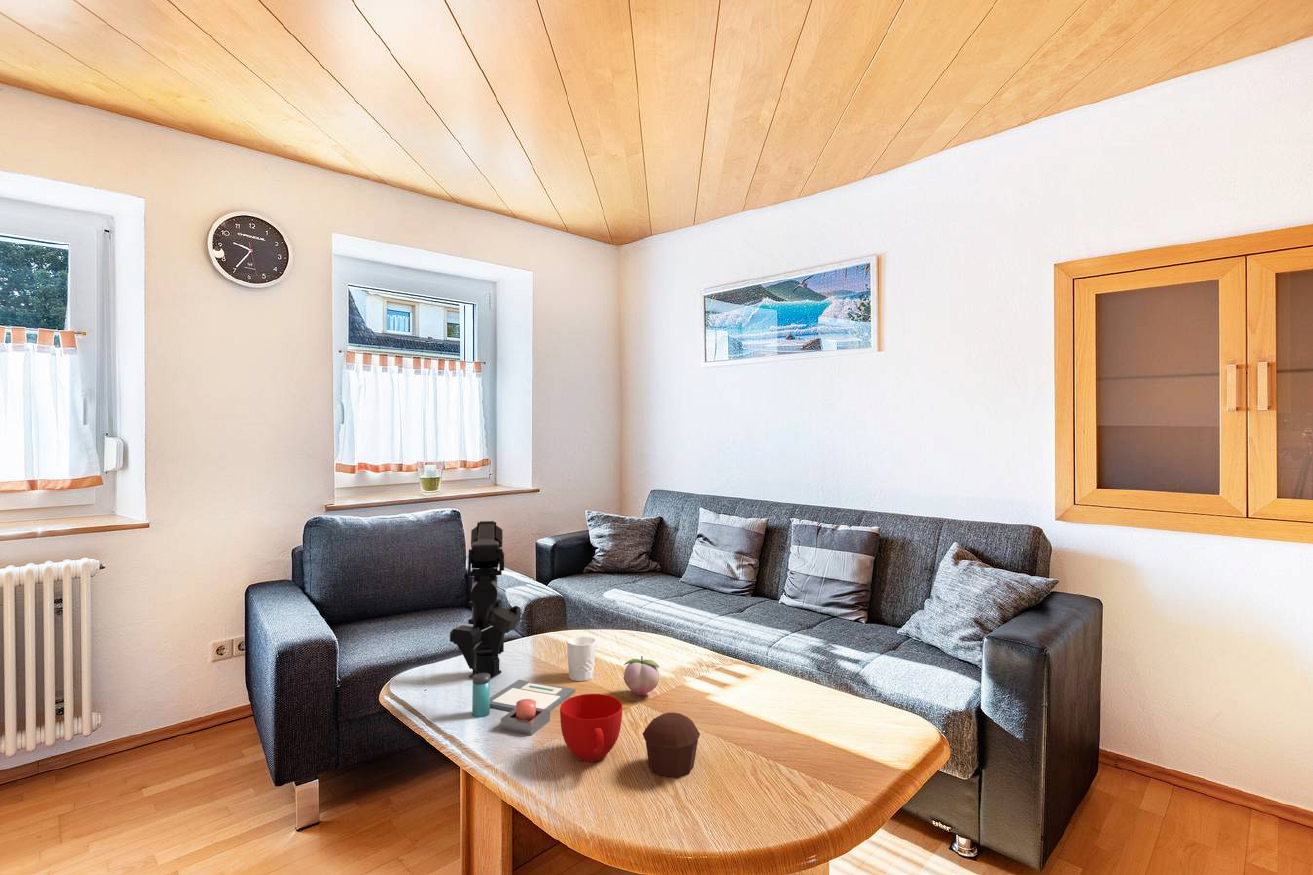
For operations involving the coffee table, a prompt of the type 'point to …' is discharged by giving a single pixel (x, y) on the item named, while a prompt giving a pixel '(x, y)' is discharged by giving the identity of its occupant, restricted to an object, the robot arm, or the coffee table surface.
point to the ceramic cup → (591, 725)
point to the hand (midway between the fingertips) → (483, 662)
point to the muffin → (671, 745)
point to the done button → (526, 709)
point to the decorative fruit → (641, 675)
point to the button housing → (525, 722)
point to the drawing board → (530, 695)
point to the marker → (481, 695)
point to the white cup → (581, 657)
